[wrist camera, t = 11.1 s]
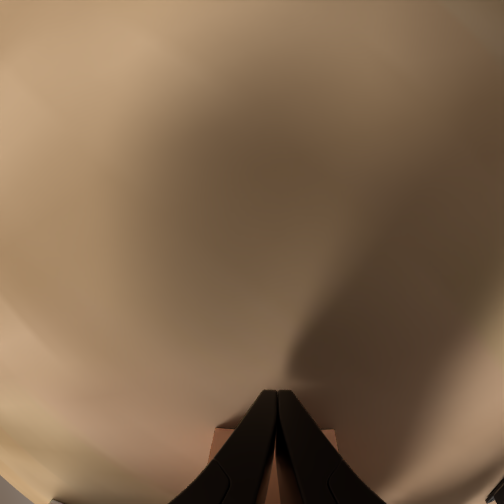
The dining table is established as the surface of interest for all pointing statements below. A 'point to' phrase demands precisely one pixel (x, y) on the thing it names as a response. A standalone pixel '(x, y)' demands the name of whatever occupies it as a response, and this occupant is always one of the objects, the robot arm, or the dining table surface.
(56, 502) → the coffee box
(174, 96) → the dining table surface
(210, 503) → the robot arm
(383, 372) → the dining table surface
